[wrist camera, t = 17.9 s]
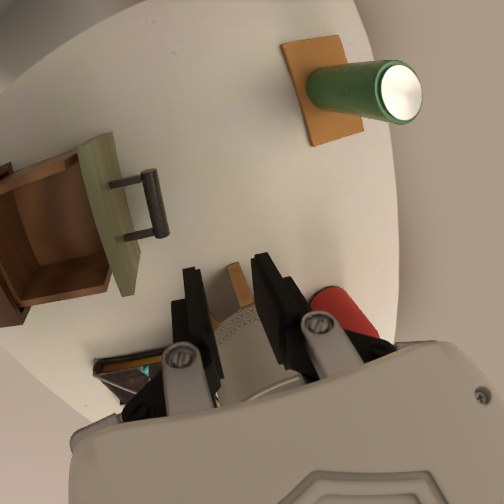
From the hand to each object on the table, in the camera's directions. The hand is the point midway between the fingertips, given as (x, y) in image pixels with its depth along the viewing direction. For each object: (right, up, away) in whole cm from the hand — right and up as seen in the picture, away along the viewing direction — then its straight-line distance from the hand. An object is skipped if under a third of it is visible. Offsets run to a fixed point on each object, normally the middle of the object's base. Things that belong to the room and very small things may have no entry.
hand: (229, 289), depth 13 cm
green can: (+9, +19, +14) cm, 25 cm away
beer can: (+12, -6, +30) cm, 33 cm away
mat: (+9, +19, +14) cm, 26 cm away
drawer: (-16, +7, +13) cm, 22 cm away
